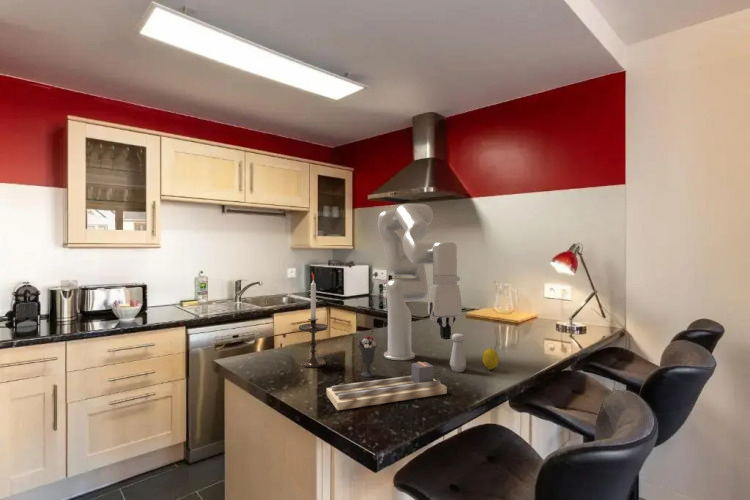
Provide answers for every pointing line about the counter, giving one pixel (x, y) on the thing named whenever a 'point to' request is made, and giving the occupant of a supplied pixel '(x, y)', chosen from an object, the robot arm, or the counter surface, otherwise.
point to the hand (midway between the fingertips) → (445, 338)
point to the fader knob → (422, 372)
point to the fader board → (381, 392)
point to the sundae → (367, 354)
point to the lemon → (490, 358)
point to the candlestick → (313, 331)
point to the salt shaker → (458, 354)
